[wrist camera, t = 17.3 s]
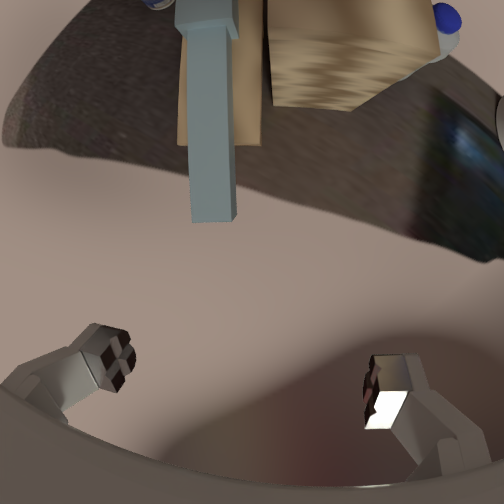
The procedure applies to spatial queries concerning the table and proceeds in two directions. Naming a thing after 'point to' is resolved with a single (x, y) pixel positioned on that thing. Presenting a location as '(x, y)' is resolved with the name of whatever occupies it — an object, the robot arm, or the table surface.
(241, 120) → the bench
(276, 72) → the tall stand
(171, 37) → the table surface
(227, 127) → the rail
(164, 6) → the pill bottle
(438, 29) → the bottle
